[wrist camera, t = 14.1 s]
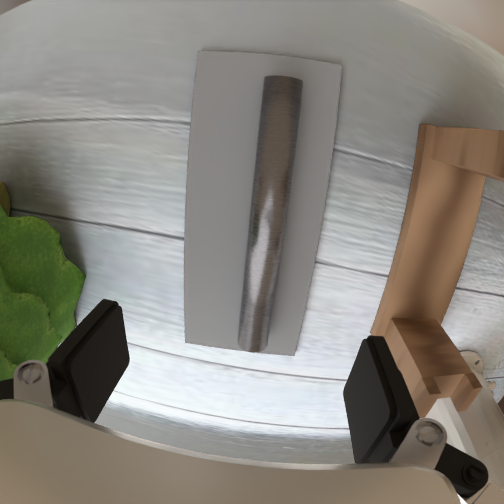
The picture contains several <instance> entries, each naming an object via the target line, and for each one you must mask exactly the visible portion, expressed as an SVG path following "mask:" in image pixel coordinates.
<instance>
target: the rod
mask: <svg viewBox="0 0 504 504" xmlns="http://www.w3.org/2000/svg"><path fill="white" fill-rule="evenodd" d="M302 90H303V81H302V80H300V79H297V78H293V77H288V76H278V75H271V76H265V77H264V84H263V93H262V103H261V112H260V122H259V131H258V141H257V150H256V160H255V169H254V179H253V189H252V199H251V209H250V218H249V228H248V238H247V248H246V258H245V269H244V279H243V289H242V299H241V310H240V320H239V330H238V341H237V343H238V345H239V347H240V348H241V349H243V350H245V351H248V352H261V351H263V350H265V349H266V347H267V345H268V339H269V333H270V327H271V321H272V314H273V308H274V302H275V296H276V289H277V283H278V276H279V270H280V263H281V256H282V249H283V242H284V235H285V228H286V221H287V214H288V207H289V199H290V192H291V184H292V176H293V168H294V160H295V152H296V144H297V135H298V126H299V118H300V109H301V99H302Z"/></svg>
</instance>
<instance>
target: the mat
mask: <svg viewBox="0 0 504 504" xmlns="http://www.w3.org/2000/svg"><path fill="white" fill-rule="evenodd" d="M341 71H342V65H339V64H334V63H329V62H323V61H318V60H312V59H305V58H298V57H291V56H282V55H273V54H262V53H249V52H228V51H198V59H197V67H196V75H195V84H194V93H193V103H192V113H191V125H190V137H189V150H188V165H187V183H186V205H185V238H184V318H185V343H191V344H197V345H203V346H210V347H217V348H224V349H232V350H240V351H245V350H243V349H241V348H240V347H239V345H238V343H237V341H238V330H239V320H240V310H241V299H242V289H243V279H244V269H245V258H246V248H247V238H248V228H249V218H250V209H251V199H252V189H253V179H254V169H255V160H256V150H257V141H258V131H259V122H260V112H261V103H262V93H263V84H264V77H265V76H271V75H278V76H288V77H293V78H297V79H300V80H302V81H303V90H302V99H301V109H300V118H299V126H298V135H297V144H296V152H295V160H294V168H293V176H292V184H291V192H290V199H289V207H288V214H287V221H286V228H285V235H284V242H283V249H282V256H281V263H280V270H279V276H278V283H277V289H276V296H275V302H274V308H273V314H272V321H271V327H270V333H269V339H268V345H267V347H266V349H265V350H263V351H261V352H257V353H267V354H277V355H288V356H294V355H295V351H296V347H297V343H298V339H299V334H300V330H301V326H302V321H303V317H304V312H305V308H306V303H307V298H308V293H309V289H310V284H311V279H312V274H313V269H314V264H315V258H316V253H317V248H318V242H319V237H320V231H321V225H322V219H323V214H324V207H325V201H326V195H327V188H328V182H329V175H330V168H331V161H332V154H333V146H334V138H335V130H336V121H337V113H338V103H339V93H340V83H341Z"/></svg>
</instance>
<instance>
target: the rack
mask: <svg viewBox="0 0 504 504" xmlns="http://www.w3.org/2000/svg"><path fill="white" fill-rule="evenodd" d="M485 177H489V178H492V179H496V180H499V181H502V182H504V131H502V130H499V131H498V130H487V129H473V128H454V127H435V126H432V125H429V124H419V132H418V140H417V147H416V154H415V161H414V167H413V173H412V179H411V185H410V190H409V195H408V200H407V205H406V210H405V214H404V219H403V223H402V228H401V232H400V236H399V240H398V244H397V248H396V252H395V255H394V259H393V263H392V266H391V270H390V273H389V277H388V280H387V284H386V287H385V290H384V293H383V296H382V300H381V303H380V306H379V309H378V312H377V315H376V318H375V320H374V323H373V326H372V329H371V332H370V333H371V335H372V336H383V337H384V338H385V340H386V342H387V344H388V347H389V349H390V351H391V354H392V356H393V358H394V360H395V363H396V365H397V367H398V370H400V371H401V373H402V375H403V378H404V380H405V382H406V385H407V387H408V390H409V392H410V395H411V397H412V400H413V402H414V405H415V407H416V410H417V412H418V415H419V418H425V417H426V415H427V414H428V413H429V411H430V410H431V408H432V407H433V405H434V404H435V402H436V401H437V399H441V398H448V397H450V399H451V401H452V403H453V405H454V407H455V409H456V411H457V412H461V411H466V410H467V409H468V408H469V406H470V405H471V404H472V402H473V401H474V399H475V398H476V396H477V395H478V394H479V392H480V391H481V389H482V388H483V387H482V385H481V384H480V382H479V380H478V379H477V377H476V376H475V374H474V373H473V372H472V371H471V369H470V367H469V366H468V364H467V363H466V361H465V360H464V358H463V357H462V355H461V354H460V352H459V351H458V349H457V348H456V347H455V345H454V344H453V342H452V341H451V339H450V338H449V336H448V335H447V334H446V332H445V331H444V329H443V328H442V327H441V323H442V321H443V318H444V316H445V314H446V311H447V309H448V306H449V304H450V301H451V299H452V296H453V293H454V291H455V288H456V285H457V283H458V280H459V277H460V274H461V271H462V268H463V265H464V262H465V259H466V256H467V252H468V249H469V246H470V242H471V239H472V235H473V232H474V228H475V224H476V220H477V216H478V212H479V207H480V203H481V198H482V193H483V188H484V183H485Z"/></svg>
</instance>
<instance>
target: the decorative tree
mask: <svg viewBox="0 0 504 504" xmlns="http://www.w3.org/2000/svg"><path fill="white" fill-rule="evenodd" d="M10 207H11V203H10V197H9V194H8V191H7V189H6V186H5V184H4V183H3V182H0V381H2V380H7V379H11V378H14V371H15V370H16V368H17V367H18V366H19V365H20V364H21V363H23V362H25V361H28V360H39V361H41V362H43V363H44V364H46V363H47V362H48V358H49V357H50V356H51V354H52V353H53V352H54V351H55V350H56V349H57V347H58V345H59V344H60V343H61V342H62V341H64V340H65V339H66V338H67V337H68V336H69V334H70V333H71V332H72V331H73V330H74V329H75V327H76V323H75V319H74V315H73V314H74V311H75V308H76V306H77V303H78V300H79V297H80V294H81V291H82V287H83V284H84V280H85V277H86V276H85V275H84V274H83V273H82V271H81V270H80V269H79V268H78V267H77V266H76V265H74V264H73V263H72V262H71V261H69V260H68V259H67V258H66V257H65V255H64V251H63V246H62V242H61V237H60V233H59V232H58V231H57V230H56V229H55V228H54V227H52V226H51V225H50V224H49V223H48V222H47V221H46V220H43V219H40V218H37V217H34V216H20V217H8V216H9V213H10Z"/></svg>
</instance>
